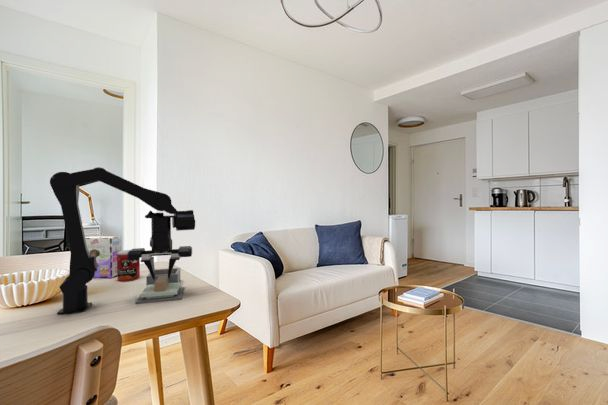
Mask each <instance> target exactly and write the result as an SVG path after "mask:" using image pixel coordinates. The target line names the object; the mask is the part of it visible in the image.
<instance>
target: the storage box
mask: <svg viewBox="0 0 608 405" xmlns="http://www.w3.org/2000/svg"><path fill="white" fill-rule="evenodd" d="M168 269H169V268H157V269H156V268H155V280H153V278H152V276H151V274H150V272H149V273H148V274H147V275H146V277H145V278H146V279H145V281H146V286H147V285H153V284H154V282H155V281H156V280H157V278H158V277H159V276H168ZM168 282H169V283H177V282H180V283H181V267H173V269H172V273H171V276H170V278H169V279H168ZM146 286H145V287H146Z"/></svg>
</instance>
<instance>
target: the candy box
mask: <svg viewBox="0 0 608 405" xmlns="http://www.w3.org/2000/svg"><path fill="white" fill-rule="evenodd" d="M85 240H86V245H87V249H88V251H89V253H90V255H93V254H96V262H97V264H98V265H99V266H98V269H97V271H96V272H95V275H94V277H93V279H96V278H97V279H98V278H99V279H112V278H115V277H117V252H119V251H122V250H121V236H120V235H119V236H118V235H115V236H114V235H113V236H112V235H110V236H109V235H108V236H107V235H99V236H98V235H93V236H91V235H90V236H85Z"/></svg>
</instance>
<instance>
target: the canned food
mask: <svg viewBox="0 0 608 405" xmlns="http://www.w3.org/2000/svg"><path fill="white" fill-rule="evenodd" d="M130 250H131V249H127V250H121V251H119V252H117V276H116V277H117V281H118V282H132V281H136V280H138V279H139V278H140V274H141V273H140V272H141V270H140V263H141V257H140V258H139V259H138V260H127V254H128V252H129V251H130Z"/></svg>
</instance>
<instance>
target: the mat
mask: <svg viewBox="0 0 608 405" xmlns="http://www.w3.org/2000/svg"><path fill="white" fill-rule="evenodd" d="M185 287H186V286H180V288H179V291H178V293H177V294H175V295H174V296H173V297H163V298H152V299H146V297H142V298H141V297H140V295H139V296H138V298H137V299H136V301H135V302H134V304H135V305H141V304H151V303H162V302H172V301H182V298H183V296H184V292H185V289H186V288H185Z"/></svg>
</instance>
